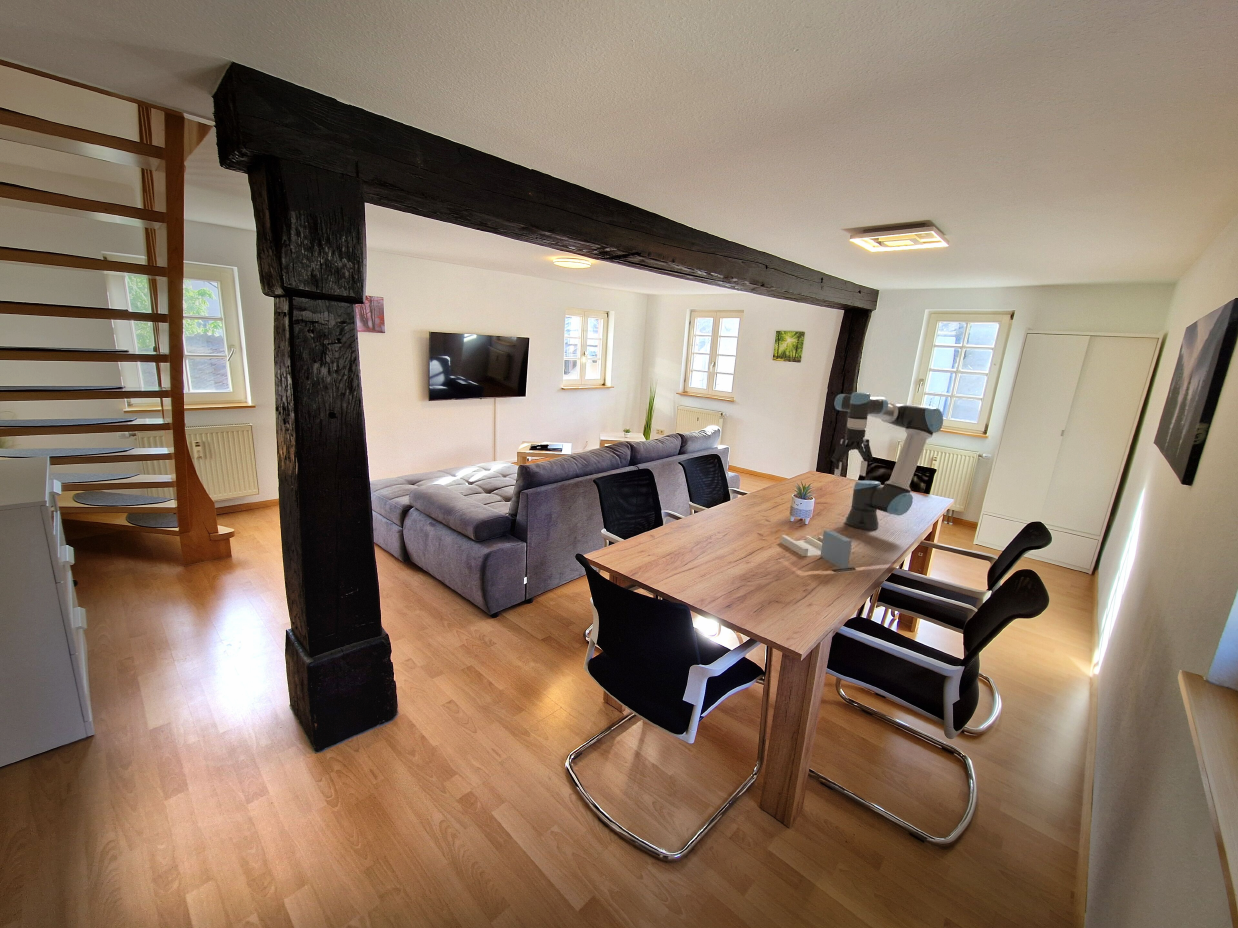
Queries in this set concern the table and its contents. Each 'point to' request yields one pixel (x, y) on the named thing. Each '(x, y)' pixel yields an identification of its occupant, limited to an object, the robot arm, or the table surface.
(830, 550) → the blue-grey square block
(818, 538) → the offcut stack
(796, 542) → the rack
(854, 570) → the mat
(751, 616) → the table surface
